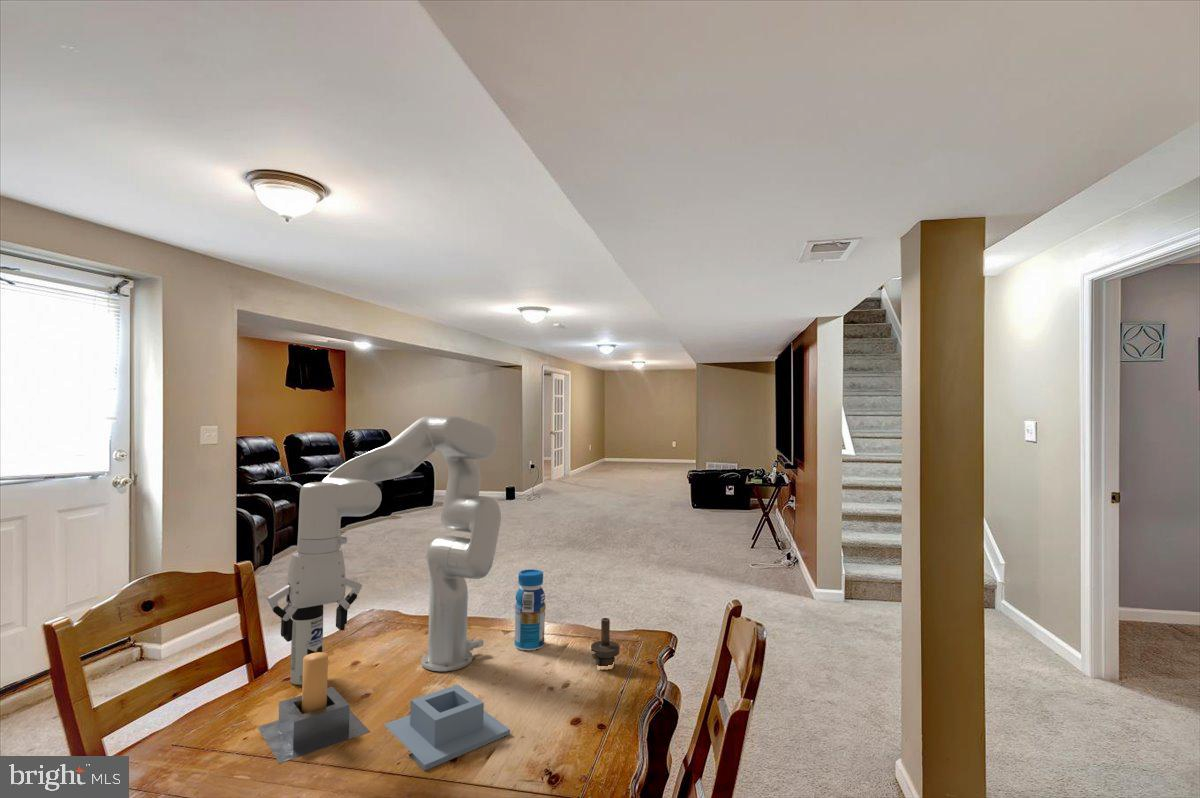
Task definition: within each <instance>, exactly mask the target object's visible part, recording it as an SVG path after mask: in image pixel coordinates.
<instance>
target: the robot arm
mask: <svg viewBox="0 0 1200 798" xmlns="http://www.w3.org/2000/svg"><path fill="white" fill-rule="evenodd" d="M498 441H499V440H498V436H497V434H496V432H495V431H494V430H493V429H492V428H491V427H489V426H488V425H487V426H486V425H484V424H482V423H478V422H476V421H473V420H469V419H467V418H463V417H461V416H456V415H455V416H454V415H425V416H422V417H420V418H418V419H417V420H415V421H414V422H413V423H412V424H410V425H409V426H408V427H407V428H406V429H405V430H403V431H402V432H400V434H398V435H396V436H395V437H394V438H393V439H391V440H390V441H389V442H387V443H386V444H384V445H382V446H380V447H377V448H374V449H372V450H370V451H367V452H366V453H363V454H361V455H359V456H356V457H354V458H351V459H349V460H348V461H346V462H344V463H342V464H341V465H339V466H338V467H337V468H335V469H334V470H333V471H332V472H330V473H329V474H327V476H326V477H324V478H323V479H322V480H321V481H314V482H308V483H305V484H303V485H302V487H301V489H300V491H299V507H298V528H297V529H298V530H297V545H296V546H297V547H296V552H294V553H292V554H291V558H290V561H289V565H288V571H287V576H286V584H285V586H284V587H282V588H280V589H279V590H277V591H276V592H274V593H273V594H271V595H268V597H266V602H267V605H268V606H269V607H270V609H271V611H272V612H273V613H274V614H276V616H278V617H279V618H280V620H281V621H280V635H281V637H283V639H284V640H285V641H286V642H288V643H289V642H291V640H292V628H293V620H292V615H293V614H294V613H295V611H296V610H297V609H298V608H306V607H311V606H317V605H323V606H324V605H328V604H333V603H337V604H338V606H337V607H336V612H335V628H336V629H338V630H339V631H345V629H346V627H345V625H347V624H348V610H349V609H350V607H351V605H352V604H353V603H354V602H355V601H356V600H357V598H358V594H359V593H360V592H361V590H362V589H363V588H362V587H363V584H362V583H360V582H358V581H357V580H356V581H355V580H353V579H350V578H348V577H346V566H345V558H344V553H343V549H341V546H342V545H343V544H344V545H345V544H347V542H348V539H347V536H341V524H342V523H341V520H342V517H365V516H367V515H370V514H373V513H374V512H375V511H376V510H377V509H378V508H379V507H380V505H381V502H382V499H383V498H382V491H381V489H380V487H379V486H378V485H377V484H376V483H378V482H383V481H387V480H394V479H397V478H398V479H399V478H401V477H404V476H406V475H409V474H411V473H412V472H414V470H416V468H418V467H419V466H420V465H421V464H423V463H424V462H425V460H427V459H428V458H429V457H430V456H431V455H433V454H435V452H439V453H440V454H441V456H442V458H443V460H444V462H445V464H446V467H447V471H448V473H447V475H448V477H447V482H446V483H447V485H446V488H445V494H444V497H443V503H442V507H441V513H440V523H441V525H442V527H444V528H446V529H448V530H450V531H455V532H462V533H470V538H468V537H464V536H463V537H462V536H454V535H441V536H438V537H436V538H434V539H433V540H431V542H430V543H429V545H428V546H427V550H426V555H425V560H426V566H427V571H428V580H429V602H428V605H429V606H428V637H427V638H428V641H427V645H428V646H427V652H426V653H425V654H424V655H423V656H422V657H421V663H420V664H421V666H422V667H423V668H424V669H426V670H429V671H433V672H452V671H456V670H461V669H463V668H465V667H467V666H468V665H470V664H471V663H472V661H473V656H474V655H473V653H472V652H473V650H474V649H478V648H481V647H483V646H484V640H483V638H478V639H476V640H475V639H474V637H472V638H469V639H468V606H469V605H468V601H469V595H468V594H469V591H468V584H467V581H466V579H469V580H470V579H471V580H480V579H484V578H485V577H486V576H487V575H489V573H490V571H491V568H492V567H493V565H494V560H495V556H496V555H495V554H496V549H497V543H498V538H499V532H500V527H501V519H502V514H501V508H500V504H499V503H498V502H497V500H496V499H494V498H492V497H490V496H485V495H480V488H481V483H482V475H481V471H480V468H479V465H478V463H477V462H476V461H477V460H482V461H483V460H487V459H489V458H492V457H493V455H495V453H496V451H497V449H498V443H499V442H498ZM346 586H347V587H350V588H351V590H350V592H349V593H348V594H347V595H346V588H347V587H346ZM345 596H346V597H345ZM282 598H284V600H285V602H286V604H285V606H284V607H283V608H281V607H280V606H279V603H278V602H279V601H280V600H281V599H282Z"/></svg>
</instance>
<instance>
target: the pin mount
mask: <svg viewBox="0 0 1200 798" xmlns="http://www.w3.org/2000/svg"><path fill="white" fill-rule="evenodd" d="M350 705H351V704H350V703H349V702H348V701H347V700H346V699H345V698H344V697H343V696H342V695H341V694H340V693H339V691H338V690H336V689H335V688H334V687H333V686H330V687H327V707H325V708H321V709H318V710H315V711H312V712H308V713H305V714H302V694H301V695H299V696H294V697H291V698H289V699H283V700H282V701H279V704H278V720H274V721H273V722H269V723H265V724H262V725H259V726H257V729H258V731H259V732H260V734H261V735H262V737H263V739H264V741H265V742H266V743H267V745H268V747H269V749H270V750H271V751H270V752H272V754H273V755H274V757H275V758H276V760H277V762H278V764H279V765H280V764H283V763H286V762H288V761H291V760H294V759H297V758H301V757H302V756H306V755H308V754H311V753H313V752H317V751H319V750H323V749H324V748H325V749H326V748H328V747H332V746H334V745H337V744H339V743H342V742H346V741H348V740H350V739H354V738H356V737H360V736H363V735H366V734H369V733H371V731H370V729H368V727H367V726H366V725H365V724H364V723H363V722H362V721H361V720H360V719H359V718H358V716H356V715H355V714H354V712H353V711H352V710H351V709H350V708H351V707H350Z"/></svg>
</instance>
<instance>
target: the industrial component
mask: <svg viewBox="0 0 1200 798" xmlns="http://www.w3.org/2000/svg"><path fill="white" fill-rule="evenodd" d="M600 619H601V623H600V635H601V636H600V640H598V641H594V642H593V643H591V645H590V648H591V649H590V651H591V652H593V653H591V657H592V658H593V659H594V660H595V666H596V665H598V666H608V665H612V664H613V662H614V663H615V657H617V656H618V655H619V654H620V649H621V648H620V644H619V643H617V642H616V641H612V640H611V639H610V637H611V636H610V633H611V632H610V629H611V627H610V626H611V625H610V624H611V623H610V621H611V619H610V618H609V617H603V618H600Z"/></svg>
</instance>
